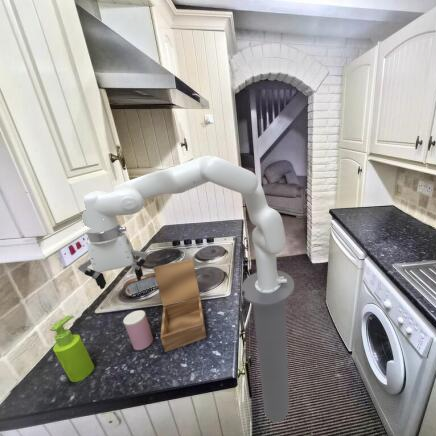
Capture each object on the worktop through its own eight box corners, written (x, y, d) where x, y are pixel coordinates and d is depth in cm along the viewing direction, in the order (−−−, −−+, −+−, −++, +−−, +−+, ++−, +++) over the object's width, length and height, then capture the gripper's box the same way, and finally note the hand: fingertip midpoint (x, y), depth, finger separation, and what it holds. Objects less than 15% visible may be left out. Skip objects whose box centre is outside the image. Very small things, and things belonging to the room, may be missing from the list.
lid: (192, 259, 90) (192, 254, 95) (153, 267, 85) (155, 262, 90) (200, 296, 94) (199, 289, 99) (162, 306, 89) (164, 299, 94)
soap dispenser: (101, 360, 76) (79, 314, 69) (83, 382, 70) (57, 333, 62) (84, 360, 76) (61, 314, 69) (64, 381, 70) (36, 333, 62)
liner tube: (156, 334, 85) (148, 309, 81) (148, 349, 80) (138, 323, 75) (139, 335, 85) (130, 310, 81) (129, 351, 79) (118, 325, 75)
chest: (206, 337, 84) (203, 323, 81) (164, 352, 78) (160, 337, 76) (202, 309, 97) (200, 296, 94) (167, 320, 92) (163, 307, 89)
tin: (162, 284, 113) (158, 269, 110) (163, 287, 111) (159, 272, 108) (126, 296, 105) (120, 281, 102) (126, 300, 103) (120, 285, 100)
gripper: (141, 223, 73) (154, 269, 79) (72, 234, 66) (92, 283, 73) (137, 232, 66) (152, 281, 73) (60, 245, 60) (84, 297, 66)
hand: (122, 282), depth 73 cm, fingers open, 9 cm apart
